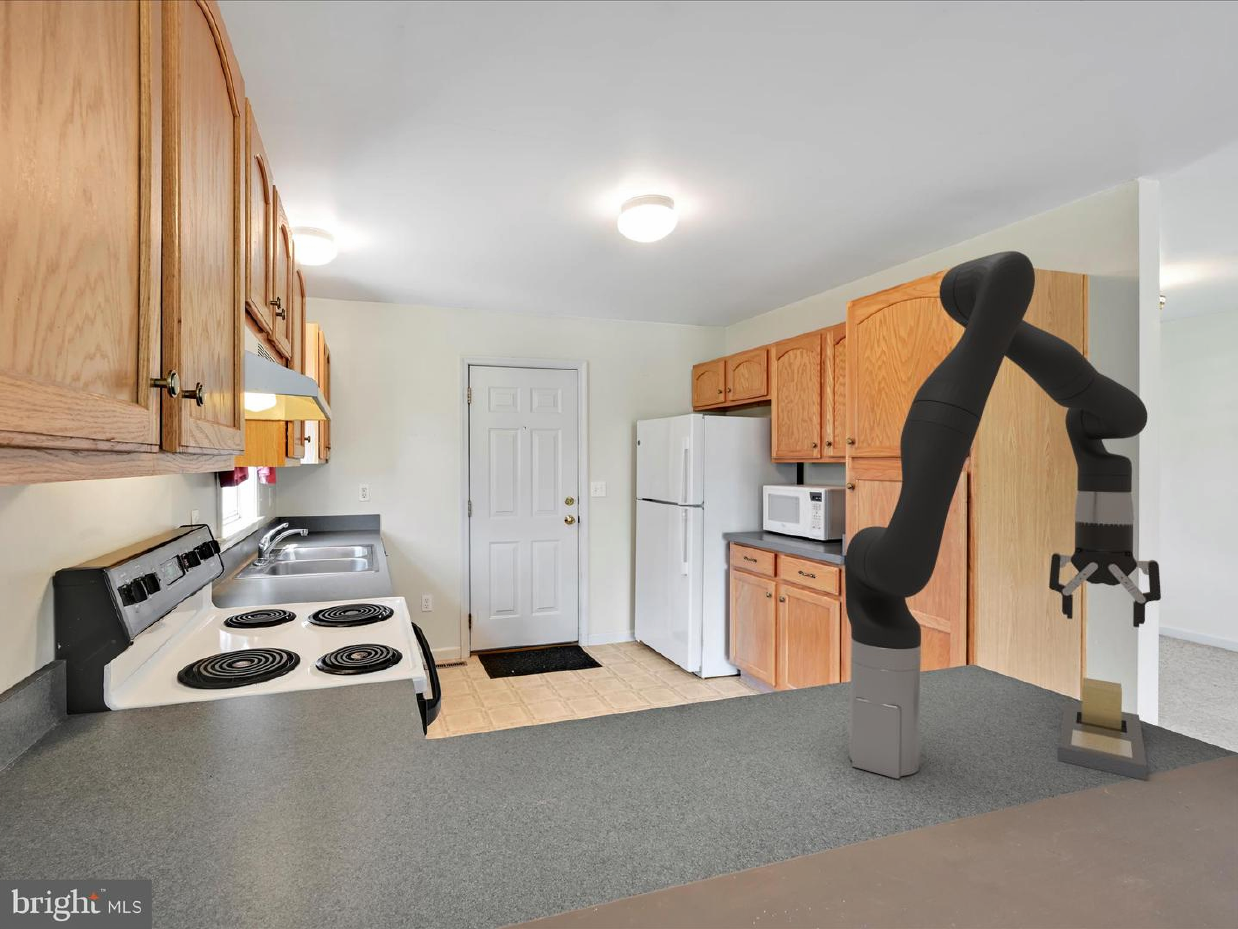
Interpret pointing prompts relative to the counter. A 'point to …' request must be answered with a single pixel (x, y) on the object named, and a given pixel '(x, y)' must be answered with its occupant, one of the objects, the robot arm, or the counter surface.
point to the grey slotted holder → (1103, 744)
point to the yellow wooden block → (1101, 704)
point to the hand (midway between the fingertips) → (1102, 622)
